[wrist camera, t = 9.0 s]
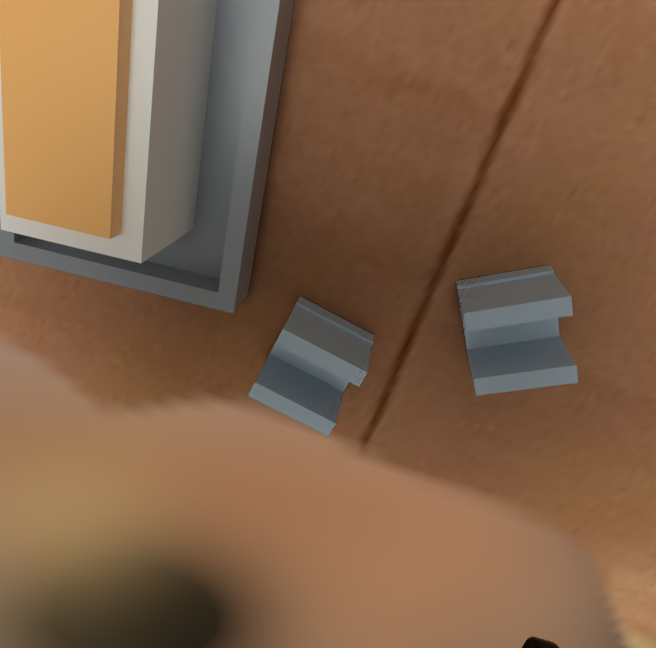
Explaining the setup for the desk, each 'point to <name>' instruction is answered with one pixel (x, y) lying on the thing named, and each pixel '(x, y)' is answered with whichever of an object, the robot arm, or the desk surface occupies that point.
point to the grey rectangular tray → (207, 173)
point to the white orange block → (103, 120)
